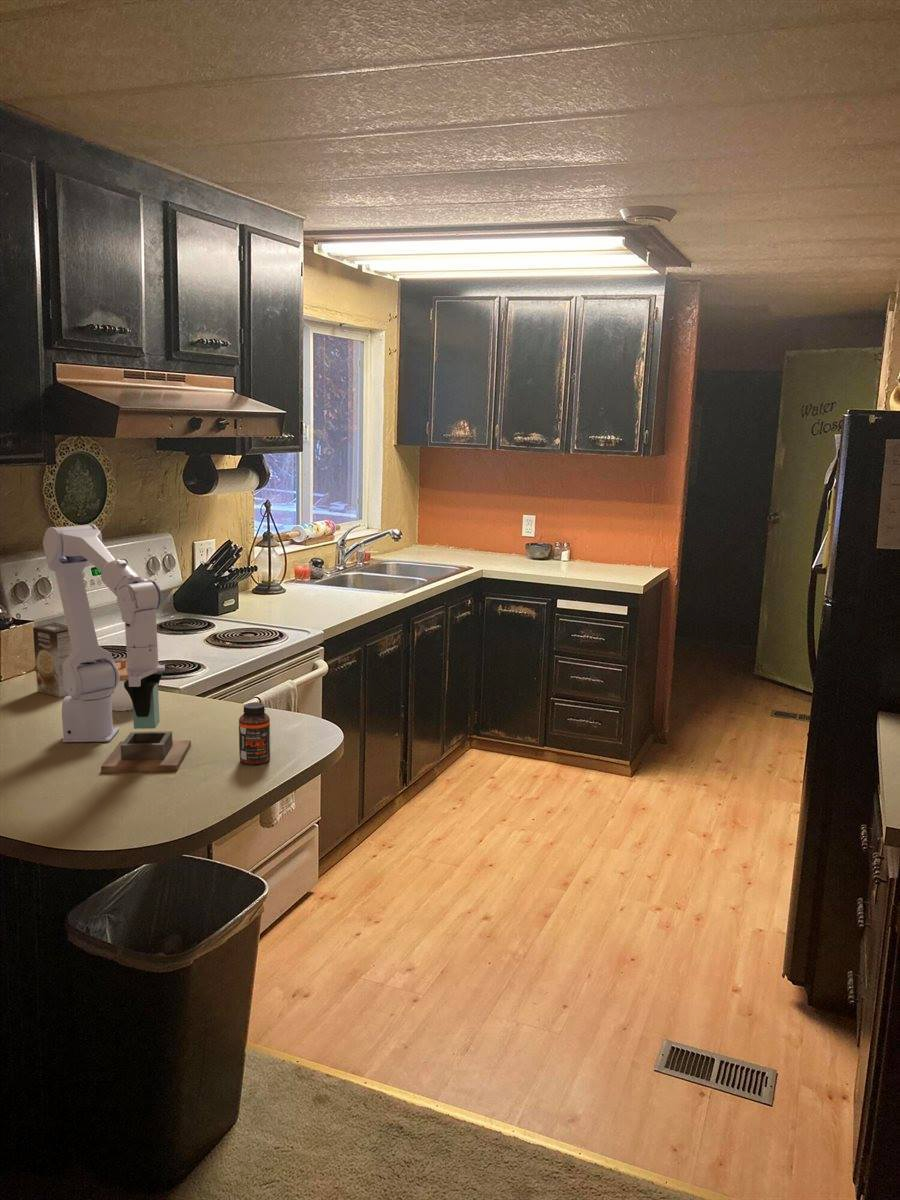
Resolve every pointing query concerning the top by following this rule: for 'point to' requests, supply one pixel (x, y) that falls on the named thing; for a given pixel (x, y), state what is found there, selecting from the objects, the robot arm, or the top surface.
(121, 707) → the lidded bowl
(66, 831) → the top surface
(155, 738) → the end holder
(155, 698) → the block
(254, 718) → the supplement bottle
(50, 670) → the coffee box
